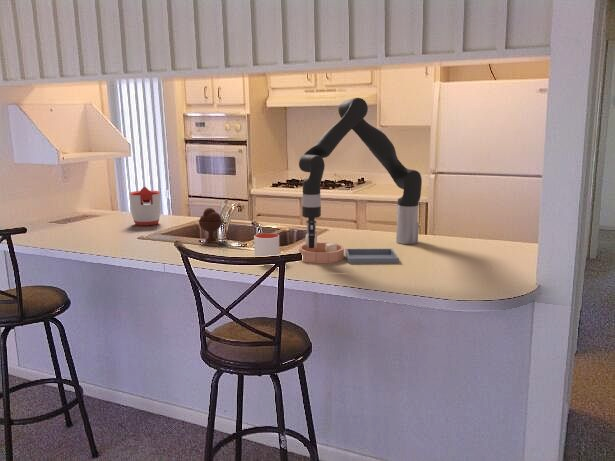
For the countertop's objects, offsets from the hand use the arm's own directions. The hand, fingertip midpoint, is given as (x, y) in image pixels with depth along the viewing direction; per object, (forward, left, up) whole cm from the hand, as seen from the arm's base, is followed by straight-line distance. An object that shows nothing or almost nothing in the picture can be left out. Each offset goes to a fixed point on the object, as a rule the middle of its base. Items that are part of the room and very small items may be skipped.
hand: (311, 246), depth 228 cm
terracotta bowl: (-4, 0, -5) cm, 6 cm away
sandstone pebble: (-8, 0, -4) cm, 9 cm away
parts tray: (-24, +2, -5) cm, 25 cm away
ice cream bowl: (+46, -33, -5) cm, 57 cm away
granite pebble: (0, 0, 0) cm, 0 cm away
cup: (+18, +2, -5) cm, 19 cm away
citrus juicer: (+86, -71, -5) cm, 112 cm away
